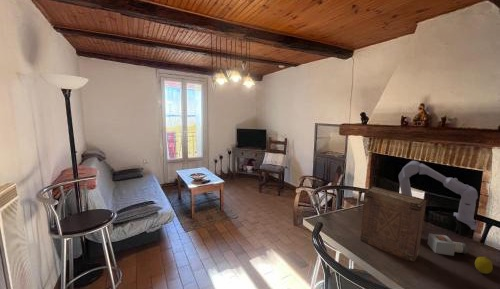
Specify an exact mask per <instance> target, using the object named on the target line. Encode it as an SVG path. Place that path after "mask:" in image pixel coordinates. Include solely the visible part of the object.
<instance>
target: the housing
mask: <svg viewBox="0 0 500 289" xmlns="http://www.w3.org/2000/svg"><path fill="white" fill-rule="evenodd" d="M438 236H442V237H445V238H446V240H445V241H442V240H439V239H438ZM454 242H455V241H453V240H452V239H451V238H450V237H449V236H447V235H444V234H437V233H436V234H435V233H428V238H427V246H429V247H430V249H431V250H432V251H433V252H434V253H435V254H437V255H438V254H439V255H445V256H446V255H447V256H453V257H454V256H455V253H456V252H455V246H456V244H455V243H454Z"/></svg>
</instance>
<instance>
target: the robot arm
mask: <svg viewBox="0 0 500 289" xmlns="http://www.w3.org/2000/svg"><path fill="white" fill-rule="evenodd" d="M416 174H418V175H427V176H429V177H431V178H433V179H435V180H436V181H438V182H441V184H442V185H443V187H444V188H446V189H449V190H450V191H452V192H453V193H455V194H457V195H459V196H460V197H461V198H460V200H459V204H458V211H457V212H456V211H455V212H453V217H456V220H455V221H454V222H455V223H456V225H457V232H458V235H459V236H460V237H463V238H464V237H466V236H467V235H468V233H469V232H470V231H471V230H473V231H477V230H478V225H476V219H474V216H475V212H476V206H477V205H476V203H477V200H478V198H479V195H478V191H477V189H476V188H475V187H473V186H472V185H471V186H470V185H469V184H464V183H463V182H461V181H460V180H458V178H457V177H454V178H453V177H446V176H445V175H444V174H441V173H440V172H438V171H436V170H434V169H433V168H431V167H430V166H428V165H426V164H424V163H422V162H421V163H420V162H419V161H418V160H411V161H409V162H407V163H406V164H405V165H404V166H403V167H402V169H401V171H399V173H398V181H399V187H400V193H401V194H405V195H409V196H413V193H412V188H411V187H412V186H411V182H410V178H411V177H412V176H414V175H416Z"/></svg>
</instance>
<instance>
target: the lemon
mask: <svg viewBox="0 0 500 289" xmlns="http://www.w3.org/2000/svg"><path fill="white" fill-rule="evenodd" d="M474 267H475V268H476V270H477V271H478V272H480V273H481V274H490V273H492V271H493V263H492V261H491V260H490V259H489V258H487V257H486V256H478V257H476V259H475V261H474Z"/></svg>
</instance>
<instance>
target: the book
mask: <svg viewBox="0 0 500 289" xmlns="http://www.w3.org/2000/svg"><path fill="white" fill-rule="evenodd" d="M426 206H427V199H425V198H420V197H417V196H413V195H412V196H409V195H405V194H401V192H396V191H392V190H388V189H384V188H381V187H376V186H370V189H365V190H364V195H363V207H362V208H363V209H362V217H361V218H362V219H361V231H360V242H361V241H362V242H364V243H365V244H369V245H371V246H373V247H375V248H378V249H380V250H381V251H382V250H383V251H385V252H386V253H389V254H392V255H394V256H396V257H399V258H401V259H403V260H405V261H408V262H410V263H413V264H414V263H415V261H416V259H417V258H418V256H419V255H420V247H421V242H422V241H421V240H422V235H423V228H424V221H425V220H424V219H425V213H426Z"/></svg>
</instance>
